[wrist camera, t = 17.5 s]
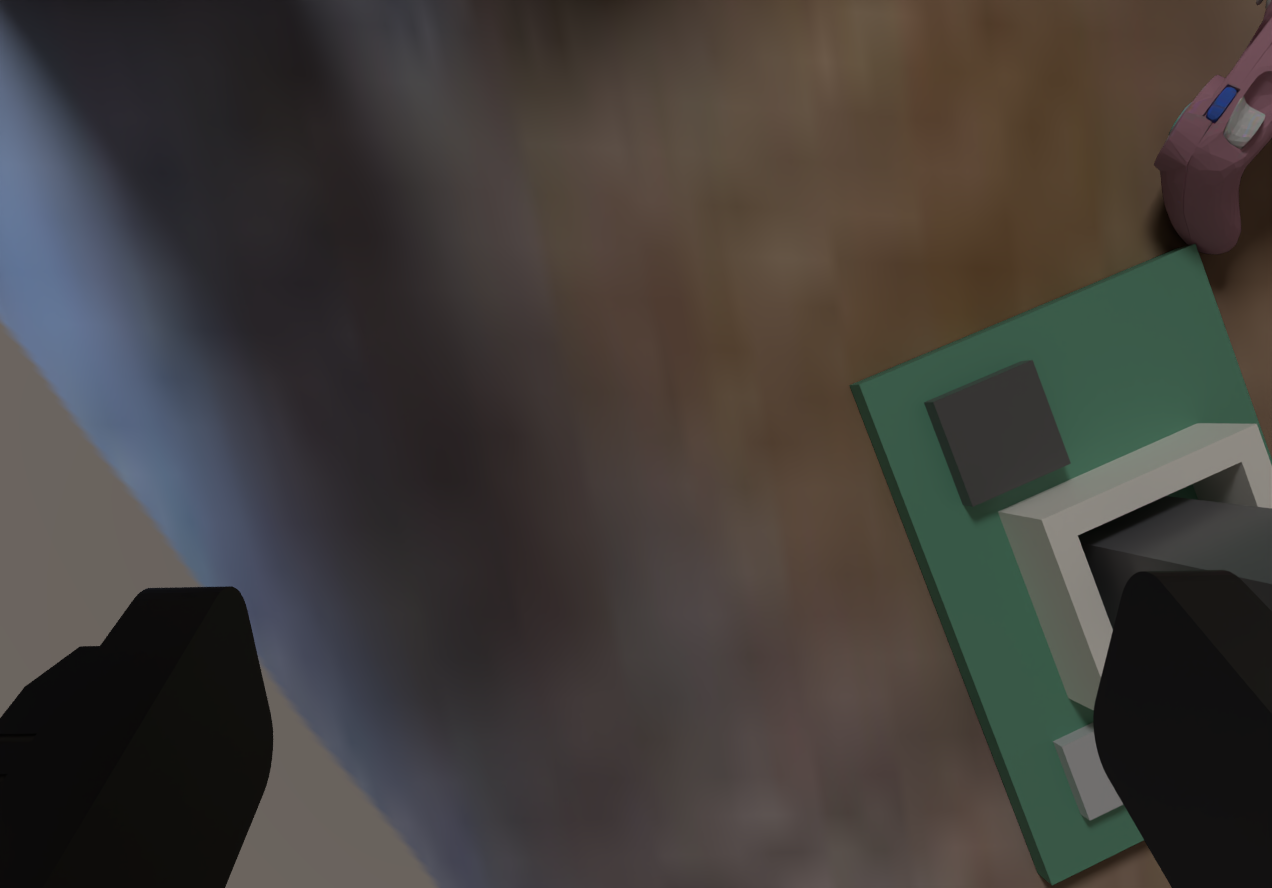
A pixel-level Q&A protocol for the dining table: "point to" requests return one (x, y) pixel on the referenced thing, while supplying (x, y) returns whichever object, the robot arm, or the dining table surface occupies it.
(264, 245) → the dining table surface
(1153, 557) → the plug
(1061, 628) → the circuit board
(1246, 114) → the video game controller
